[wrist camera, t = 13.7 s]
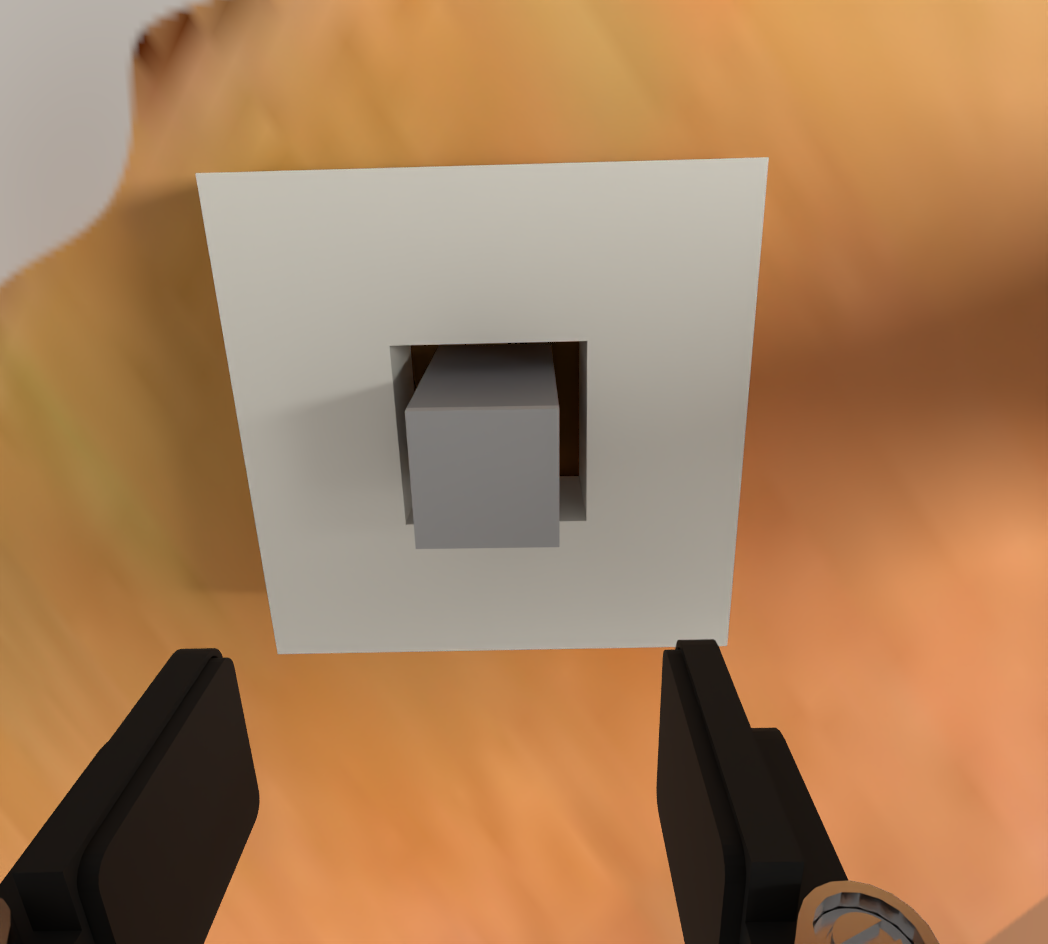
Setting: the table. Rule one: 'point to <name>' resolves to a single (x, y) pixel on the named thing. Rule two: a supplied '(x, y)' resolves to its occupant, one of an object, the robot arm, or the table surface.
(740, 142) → the table surface
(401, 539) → the socket housing
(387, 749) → the table surface
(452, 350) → the plug
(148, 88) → the table surface
